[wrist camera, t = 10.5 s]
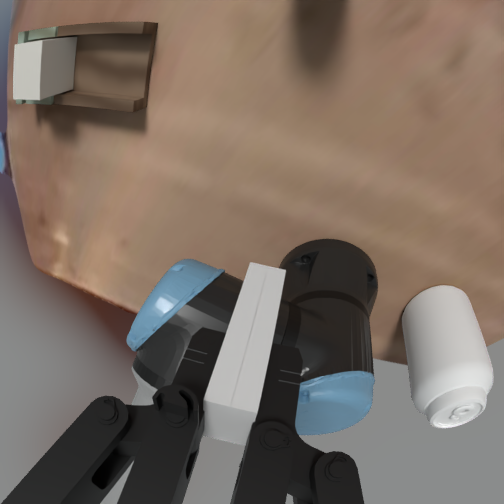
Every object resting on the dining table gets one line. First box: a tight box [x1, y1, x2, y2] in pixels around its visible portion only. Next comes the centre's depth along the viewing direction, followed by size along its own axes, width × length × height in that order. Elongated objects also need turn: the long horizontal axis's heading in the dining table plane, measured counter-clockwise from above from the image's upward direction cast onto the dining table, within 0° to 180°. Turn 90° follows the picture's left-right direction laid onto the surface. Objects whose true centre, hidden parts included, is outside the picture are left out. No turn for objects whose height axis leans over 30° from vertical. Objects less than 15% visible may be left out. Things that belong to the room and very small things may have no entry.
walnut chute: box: [16, 22, 158, 113], centre depth 33 cm, size 12×22×4 cm, turn 78°
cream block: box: [13, 37, 77, 100], centre depth 31 cm, size 8×6×7 cm
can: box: [402, 285, 493, 428], centre depth 39 cm, size 12×12×20 cm
